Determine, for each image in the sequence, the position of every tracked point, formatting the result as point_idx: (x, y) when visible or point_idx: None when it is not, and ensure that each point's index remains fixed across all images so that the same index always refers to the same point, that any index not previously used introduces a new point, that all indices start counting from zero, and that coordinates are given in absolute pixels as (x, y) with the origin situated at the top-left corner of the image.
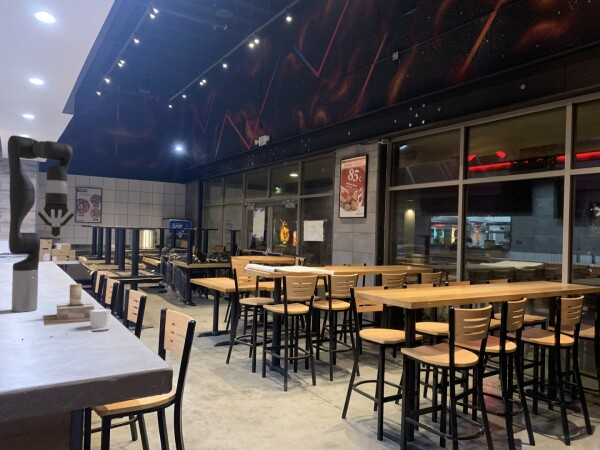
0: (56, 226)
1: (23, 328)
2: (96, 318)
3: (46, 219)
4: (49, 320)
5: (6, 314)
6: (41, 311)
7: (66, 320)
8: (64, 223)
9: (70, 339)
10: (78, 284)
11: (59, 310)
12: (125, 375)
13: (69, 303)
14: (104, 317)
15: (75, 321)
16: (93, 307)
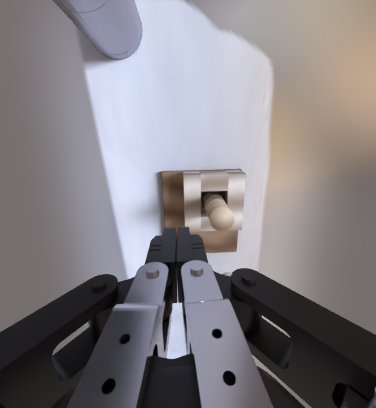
0: (181, 287)
1: (140, 232)
2: None
3: (71, 386)
4: (172, 223)
5: (88, 77)
6: (154, 69)
7: (196, 233)
8: (252, 332)
9: None
10: (228, 220)
11: None
12: None
13: (204, 206)
14: None
15: (207, 246)
16: (239, 228)
